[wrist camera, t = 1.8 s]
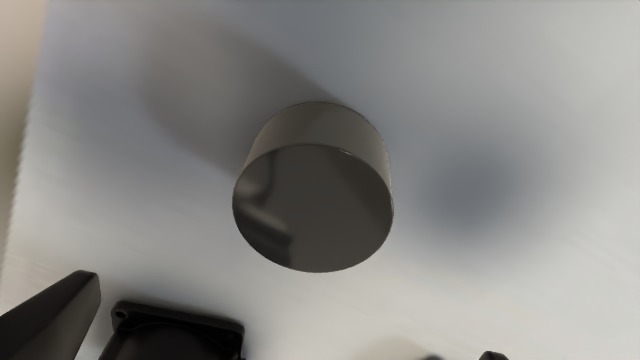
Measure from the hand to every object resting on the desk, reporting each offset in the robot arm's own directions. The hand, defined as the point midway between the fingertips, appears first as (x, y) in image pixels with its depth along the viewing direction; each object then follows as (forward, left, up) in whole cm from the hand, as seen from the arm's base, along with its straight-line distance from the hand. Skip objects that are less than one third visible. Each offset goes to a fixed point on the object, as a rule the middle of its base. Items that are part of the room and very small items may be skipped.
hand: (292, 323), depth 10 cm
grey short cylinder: (0, 0, -7) cm, 7 cm away
